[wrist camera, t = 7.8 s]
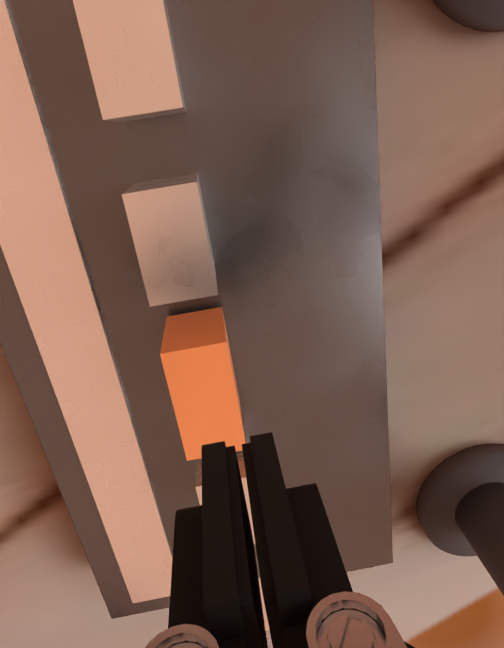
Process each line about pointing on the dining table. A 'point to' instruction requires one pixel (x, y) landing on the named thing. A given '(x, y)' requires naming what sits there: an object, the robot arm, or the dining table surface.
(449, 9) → the knob
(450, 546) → the post
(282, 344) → the breaker panel
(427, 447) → the dining table surface
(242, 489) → the robot arm
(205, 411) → the block
